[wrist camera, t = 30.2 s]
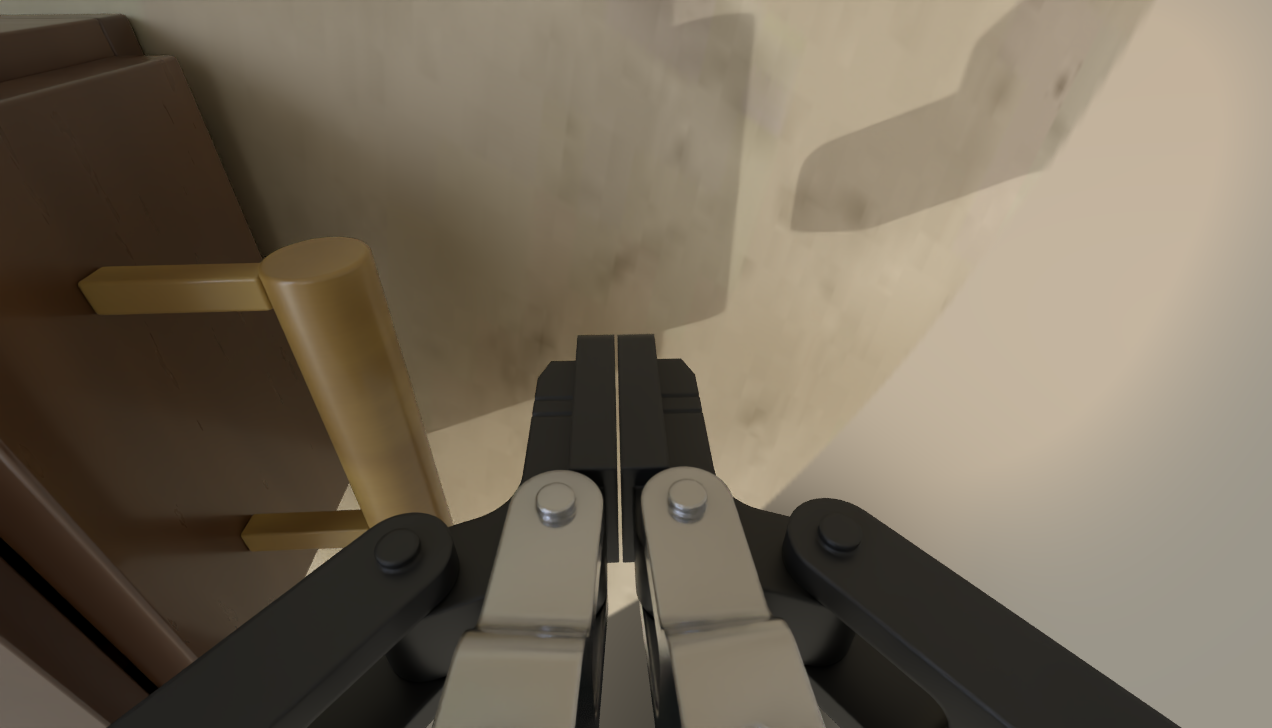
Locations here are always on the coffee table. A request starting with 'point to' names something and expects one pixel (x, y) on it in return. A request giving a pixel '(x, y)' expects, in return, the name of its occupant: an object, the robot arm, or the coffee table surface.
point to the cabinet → (3, 599)
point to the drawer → (178, 374)
